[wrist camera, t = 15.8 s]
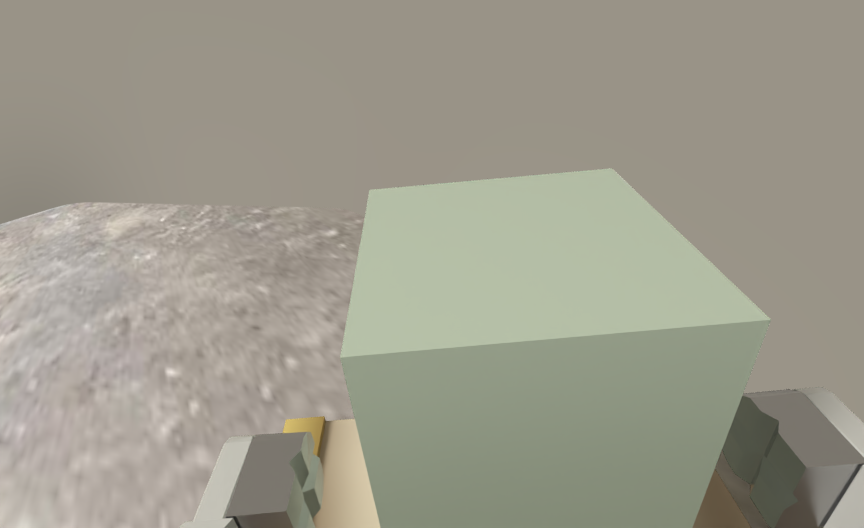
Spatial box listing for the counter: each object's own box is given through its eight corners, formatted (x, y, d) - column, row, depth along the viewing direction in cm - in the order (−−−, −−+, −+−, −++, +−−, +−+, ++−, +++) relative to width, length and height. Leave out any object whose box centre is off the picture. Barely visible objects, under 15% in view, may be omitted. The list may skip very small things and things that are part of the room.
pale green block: (568, 507, 16) (612, 168, 10) (627, 701, 12) (770, 320, 5) (421, 520, 16) (369, 190, 10) (425, 718, 12) (339, 357, 5)
